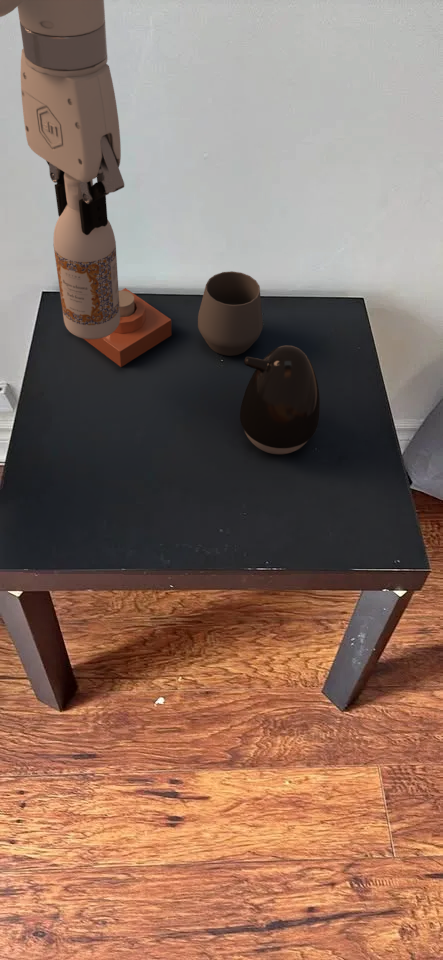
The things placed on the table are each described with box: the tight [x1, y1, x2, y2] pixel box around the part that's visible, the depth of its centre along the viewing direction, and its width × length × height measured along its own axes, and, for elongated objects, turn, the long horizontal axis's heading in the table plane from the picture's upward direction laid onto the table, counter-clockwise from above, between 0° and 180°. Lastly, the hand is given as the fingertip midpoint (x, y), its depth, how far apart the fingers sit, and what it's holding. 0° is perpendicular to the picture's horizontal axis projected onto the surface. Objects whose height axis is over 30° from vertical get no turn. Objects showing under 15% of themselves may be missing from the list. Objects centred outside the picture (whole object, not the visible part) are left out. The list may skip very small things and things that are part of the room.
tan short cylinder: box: [119, 290, 135, 317], centre depth 107 cm, size 4×4×2 cm
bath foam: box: [53, 173, 120, 340], centre depth 86 cm, size 7×7×20 cm
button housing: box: [82, 287, 172, 368], centre depth 109 cm, size 10×10×5 cm
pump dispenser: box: [239, 344, 321, 455], centre depth 94 cm, size 10×10×15 cm
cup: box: [197, 270, 264, 357], centre depth 107 cm, size 10×9×10 cm
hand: (83, 220), depth 82 cm, fingers closed on bath foam, 3 cm apart
